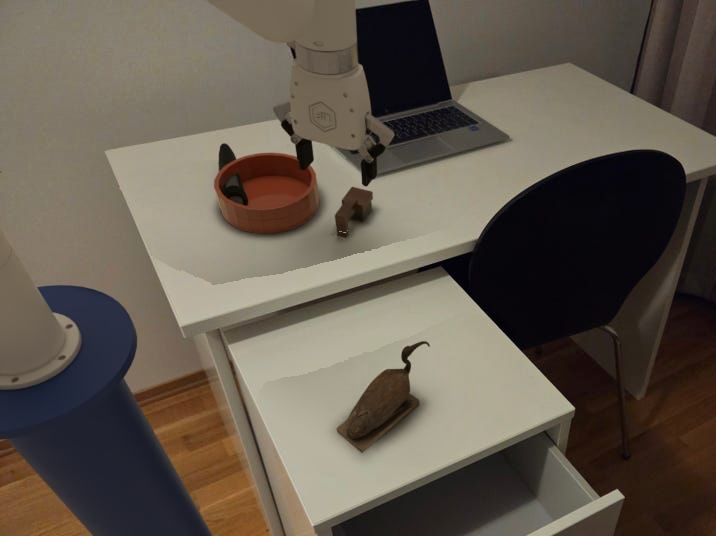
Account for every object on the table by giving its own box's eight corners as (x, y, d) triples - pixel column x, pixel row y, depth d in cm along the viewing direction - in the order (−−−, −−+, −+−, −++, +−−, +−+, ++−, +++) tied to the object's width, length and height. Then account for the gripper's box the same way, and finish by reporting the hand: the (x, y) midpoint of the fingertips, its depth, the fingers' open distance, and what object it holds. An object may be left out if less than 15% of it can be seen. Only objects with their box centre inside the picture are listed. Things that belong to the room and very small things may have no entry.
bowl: (201, 219, 99) (193, 195, 96) (252, 168, 109) (246, 144, 106) (291, 243, 97) (287, 219, 94) (335, 188, 107) (332, 165, 104)
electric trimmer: (239, 157, 111) (235, 140, 109) (250, 208, 102) (245, 191, 99) (216, 160, 110) (212, 143, 108) (225, 212, 101) (220, 195, 98)
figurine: (416, 366, 83) (415, 320, 77) (441, 384, 82) (443, 339, 75) (335, 432, 76) (327, 388, 69) (362, 454, 74) (356, 410, 68)
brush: (352, 239, 99) (350, 218, 96) (331, 234, 99) (328, 213, 96) (373, 209, 104) (372, 188, 101) (353, 203, 105) (351, 183, 102)
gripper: (248, 50, 78) (270, 172, 91) (380, 81, 76) (383, 201, 89) (278, 28, 83) (295, 147, 96) (403, 56, 81) (402, 174, 94)
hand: (337, 173), depth 92 cm, fingers open, 9 cm apart
